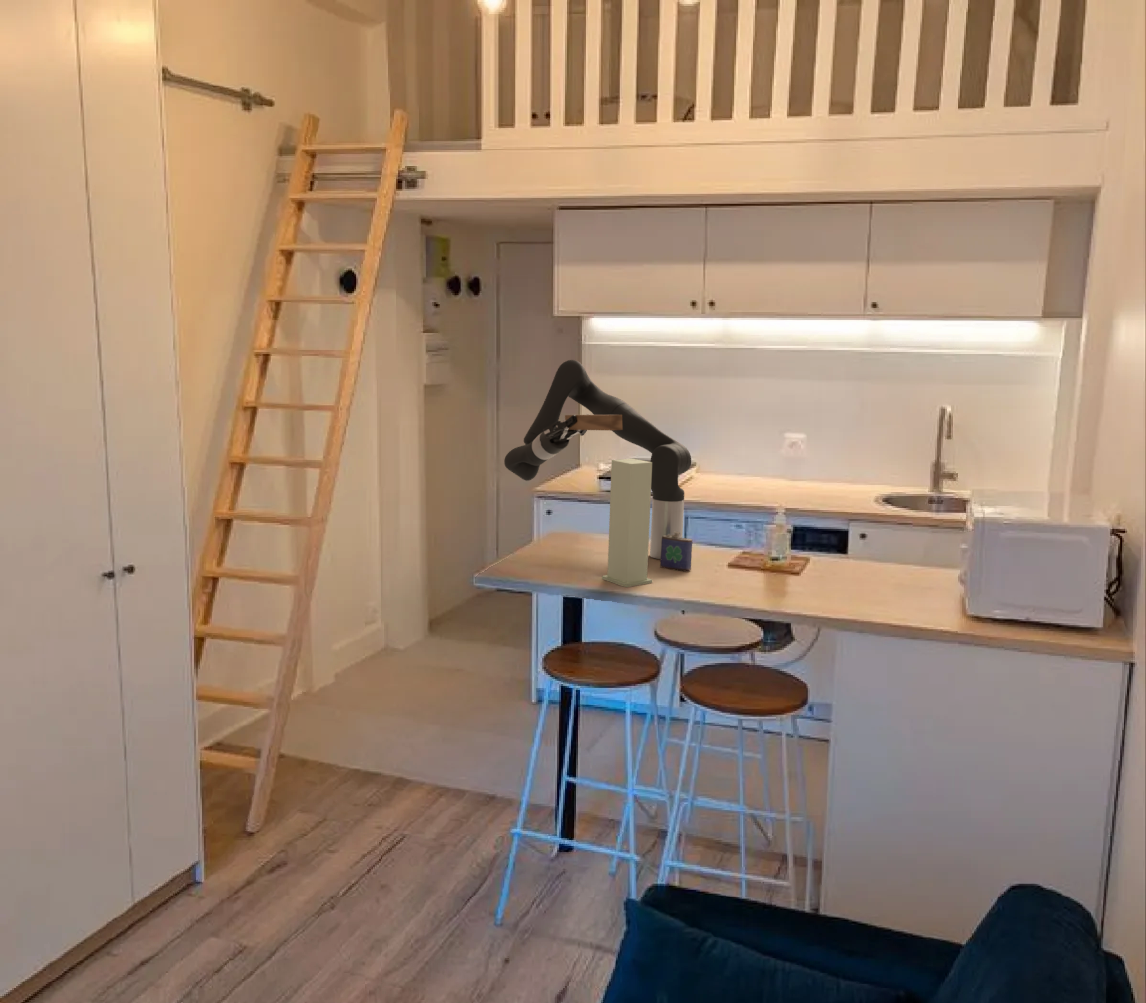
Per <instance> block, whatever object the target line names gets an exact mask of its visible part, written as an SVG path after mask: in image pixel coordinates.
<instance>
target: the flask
mask: <svg viewBox="0 0 1146 1003" xmlns="http://www.w3.org/2000/svg"><path fill="white" fill-rule="evenodd" d="M674 533H675V535H671V536H669V535H670V534H669V535H665V536H662V545H661V559H659V561H660V562H659V566H660V568H661V569H667V570H674V571H681V572H690V571H691V570H692V552H693V539H692V538H684V537H682V538H679V534H680V532H674Z"/></svg>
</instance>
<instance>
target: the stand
mask: <svg viewBox="0 0 1146 1003" xmlns="http://www.w3.org/2000/svg"><path fill="white" fill-rule="evenodd" d="M610 466H611V469H610V470H611V471H610V497H609V521H608V522H609V523H608V524H609V526H608V545H607V546H608V551H607V552H608V553H607V574H605V575H602V576H601V579H602V580H604V581H607V582H609V583H610V582H611V583H612V584H616V585H619V586H622V587H625V588H630V587H635V586H636V587H637V586H642V585H646V584H652V583H653V579H651V578H648V568H649V567H648V566H649V564H648V563H649V548H650V544H649V542H650V523H651V522H650V521H651V519H650V518H651V499H652V498H651V497H652V490H651V478H652V462H650V461H647V460H641V459H637V458H624V459H611V465H610Z"/></svg>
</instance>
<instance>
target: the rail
mask: <svg viewBox="0 0 1146 1003" xmlns="http://www.w3.org/2000/svg"><path fill="white" fill-rule="evenodd" d="M572 415H573V414H565V415H564V420H567V419H569V418H570V417H571V416H572ZM575 415H576V417H577V420H578V421H577V423H575V424H574V425H573V426H572V427H569V429H568V430H587V431H609V432H610V431H611V430H622V415H594V414H589V415H586V414H575Z"/></svg>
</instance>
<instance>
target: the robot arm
mask: <svg viewBox="0 0 1146 1003" xmlns="http://www.w3.org/2000/svg"><path fill="white" fill-rule="evenodd" d="M568 398H570V399H571V400H573V401H574V402H576V403H577V404H580V405H581V406H583V407H584V408H585V409H587V410H588V411H589V412H591V414H592V415H622V430H611V431H612V433H614V434H615V435H616V436H618V437H619V438H621V439H623V440H625V441H626V442H628V443H631V444H633V445H636V446H638V447H641V448H643V449H644V450H646V451H647V452H649V453H651V455H650V461H649V462H652V478H651V494H652V496H651V497H652V498H651V499H652V504H651V505H652V506H651V522H650V523H651V525H650V528H651V529H650V544H649V556H650V557H651V558H653V559H657V560H660V559H661V545H662V536H665V535H669V534H670V535H669V536H671V535H675V533H674V532H680V534H679V538H683V534H684V533H683V532H684V531H683V530H684V529H683V528H684V509H685V490H684V489H683V488H681V487H680V485H679V475H682V474H684V473H686V472H687V471H688V470H690V468H691V465H692V462H693V461H692V456H691V453H690V452H689V449H687V447H686V446H684V445H683V444H682V443H680V442H679V441H678V440H676V439H674V438H672V437H670V436H669V435H668V434H666V433H664V432H663V431H661V430H660V429H659V428H658V427H656V425H654V424H653V423H652V422H650V421H649V419H647V418H645V417H644V416H643V415H642V414H641V413H639V412H638V411H637V410H636V409H635V408H633V407H632V406H631V405H629V404H628V403H627V402H625V401H624V400H622V399H620V398H618V397H616V396H613V395H610V394H608V393H606V392H604V391H603V390H602V389H601V388H600V387H599V386H598V385H596V383H595V382H594V381H593V380H592V379H591V378H590V376H589V375H588V372H587V370H586V369H585V366H584V365H583V364H582V362H580V361H578V360H576V359H569V360H565V361H563V363H561V364H560V365H559V366H558V368H557V370H556V372H555V374H554V377H553V380H552V382H551V385H550V387H549V390H548V392H547V395H546V397H545V398H544V401H543V403H542V406H541V407H540V409H539V411H538V413H537V415H536V417H535V419H534V421H533V423H532V424H531V425H530V427H529V429H528V431H527V432H526V434H525V435H524V438H523V445H520V446H517V447H515V448H511V450H509V451H508V452H507V454H506V455H505V457H504V459H503V460H504V463H503V464H504V466H505V469H507V470H508V471H510V472H512V473H513V474H514V475H516V476H517V477H519V478H521V479H522V480H523V481H526V482H529V481H531V480H532V479H535V478H536V476H537V475H538V473H539V470H540V466H541V465H542V464H544V463H545V462H546V461H548V460H550V459H551V458H553V457H555V456H557V455H558V454H559V453H560V452H562V451H563V450H564V449H565V448H567V446H568V445H569V443H570V440H571V439H572V438H574V437H575V436H577V435H580V437H581V436H585V435H586V434H587V432H588V430H568V429H569V427H572V426H573V425H574V424H575V423H577V421H578V420H577V417H576V415H577V414H571V415H572V416H571V417H570V418H569V419H567V420H565V419H564V420H562V421H561V420H560V416H561V415H562V414H561V413H562V409H563V408H564V404H565V403H566V401H567V399H568ZM585 415H590V414H587V413H586V414H585Z"/></svg>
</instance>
